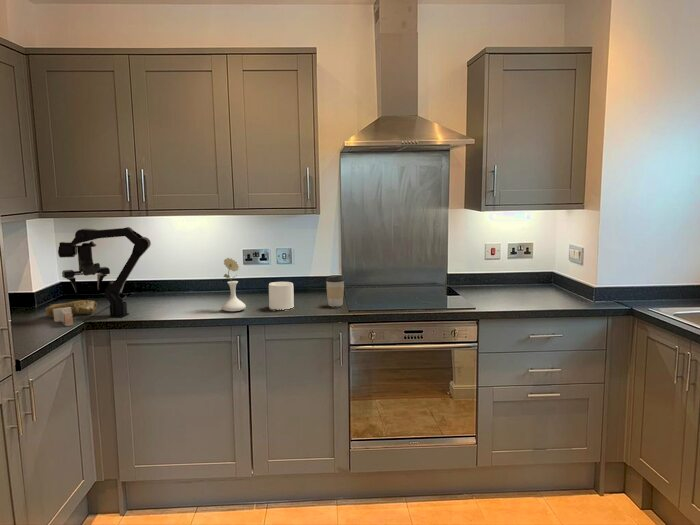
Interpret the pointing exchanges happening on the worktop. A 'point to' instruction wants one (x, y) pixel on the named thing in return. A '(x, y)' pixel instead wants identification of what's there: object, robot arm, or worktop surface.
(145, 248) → the robot arm
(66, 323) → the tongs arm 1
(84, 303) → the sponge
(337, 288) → the coffee cup
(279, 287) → the cup
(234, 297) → the flower in vase
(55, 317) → the tongs pivot
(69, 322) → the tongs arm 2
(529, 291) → the worktop surface
